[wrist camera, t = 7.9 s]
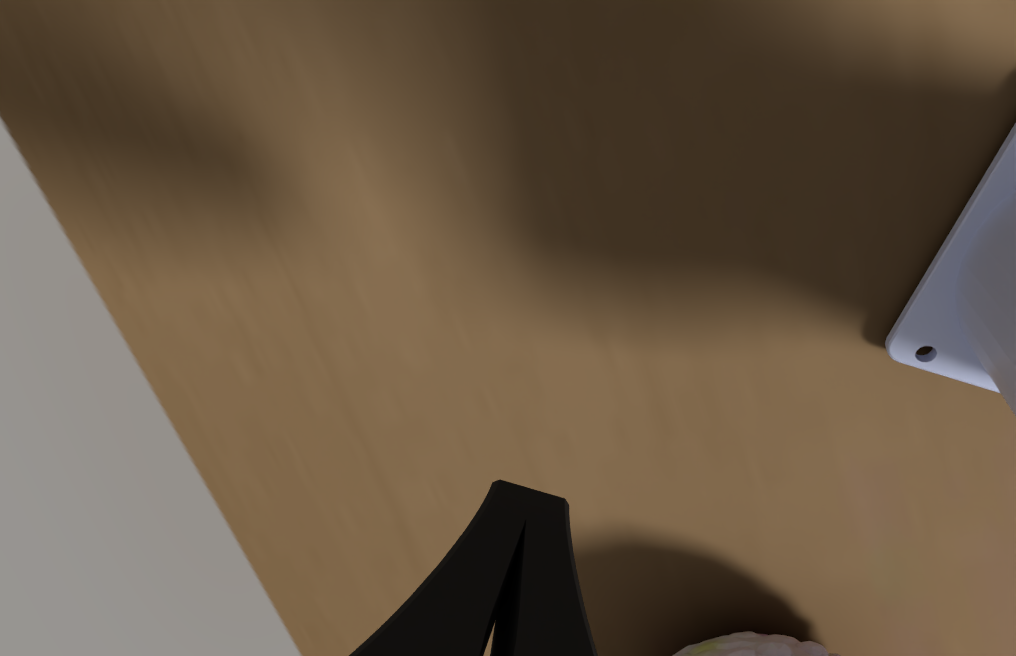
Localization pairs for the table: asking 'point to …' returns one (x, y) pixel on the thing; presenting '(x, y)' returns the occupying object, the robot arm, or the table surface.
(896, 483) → the table surface
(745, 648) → the decorative item
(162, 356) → the table surface
